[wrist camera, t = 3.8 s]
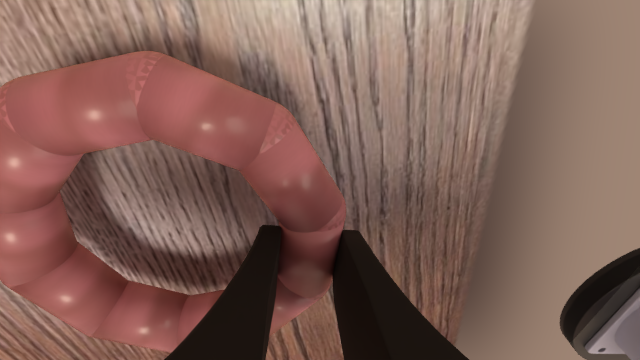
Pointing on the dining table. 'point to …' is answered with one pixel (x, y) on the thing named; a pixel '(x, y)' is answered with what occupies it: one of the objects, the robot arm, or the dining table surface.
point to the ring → (174, 130)
